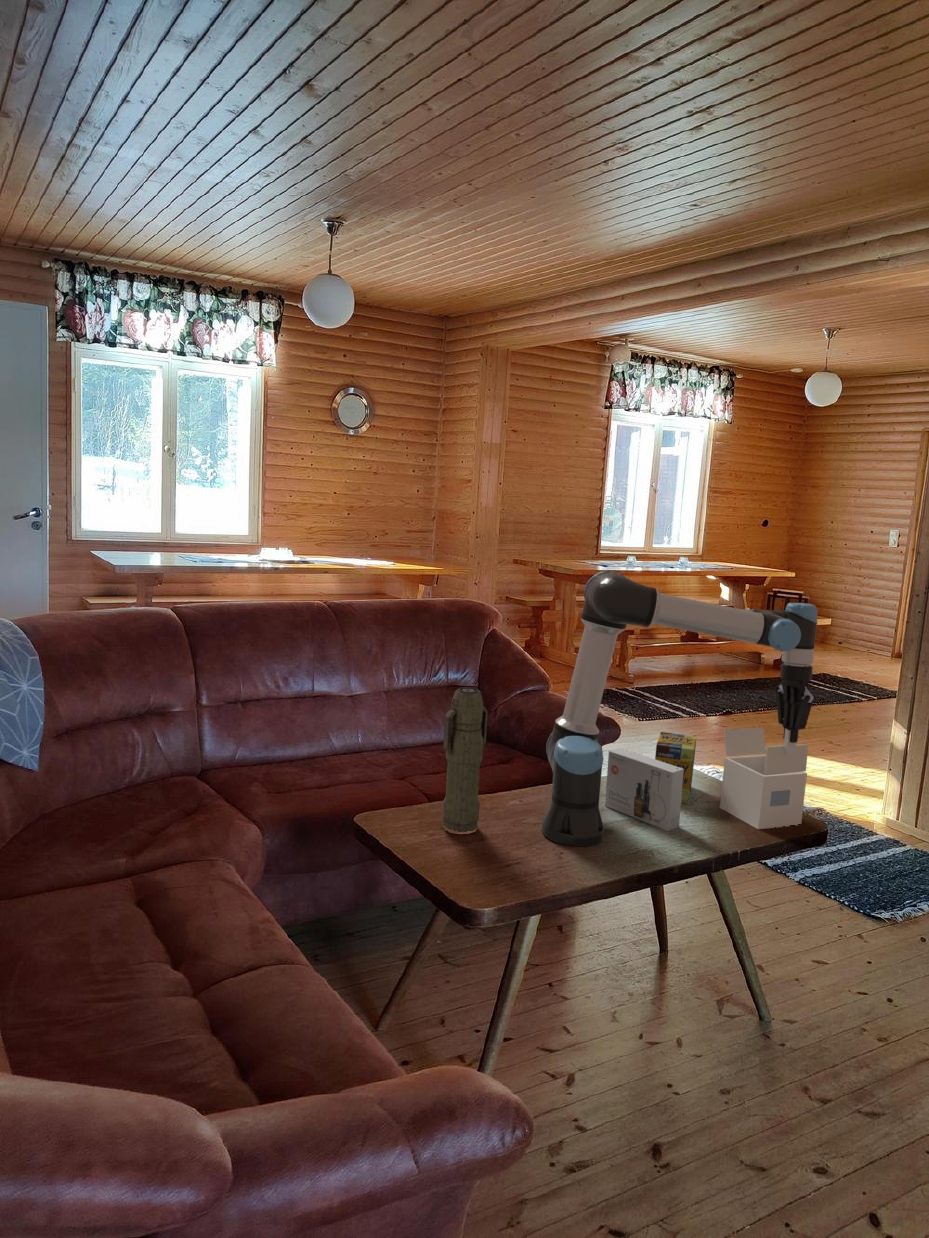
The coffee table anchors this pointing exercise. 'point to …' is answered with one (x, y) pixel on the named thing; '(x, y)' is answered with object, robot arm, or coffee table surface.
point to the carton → (762, 793)
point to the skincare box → (644, 788)
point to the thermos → (464, 759)
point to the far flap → (744, 741)
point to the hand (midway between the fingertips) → (789, 753)
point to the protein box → (678, 756)
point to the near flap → (785, 759)
